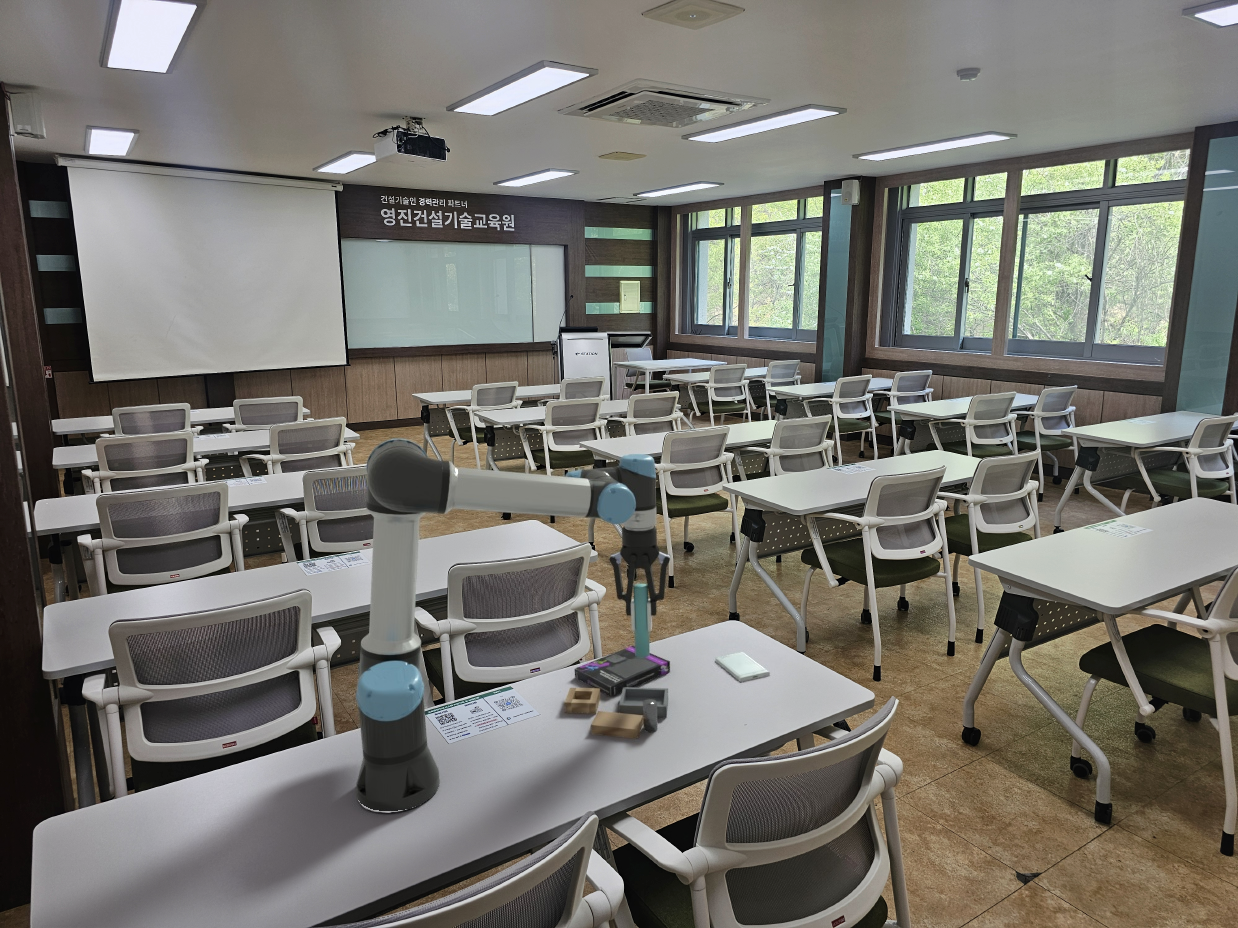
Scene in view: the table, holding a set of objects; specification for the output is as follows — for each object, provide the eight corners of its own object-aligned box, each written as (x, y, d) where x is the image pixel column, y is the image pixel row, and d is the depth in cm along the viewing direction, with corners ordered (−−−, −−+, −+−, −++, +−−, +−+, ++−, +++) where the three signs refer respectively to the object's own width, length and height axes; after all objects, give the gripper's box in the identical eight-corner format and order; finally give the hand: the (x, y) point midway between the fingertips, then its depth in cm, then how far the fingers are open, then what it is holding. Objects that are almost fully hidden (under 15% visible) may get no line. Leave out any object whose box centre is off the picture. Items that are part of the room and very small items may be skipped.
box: (633, 657, 205) (573, 679, 192) (633, 644, 204) (573, 666, 192) (671, 674, 194) (610, 699, 182) (670, 660, 193) (609, 684, 181)
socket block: (565, 712, 175) (564, 702, 175) (570, 697, 182) (570, 687, 182) (596, 713, 175) (595, 703, 174) (600, 698, 181) (599, 688, 181)
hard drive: (715, 657, 199) (740, 677, 188) (743, 651, 202) (769, 670, 191) (715, 663, 199) (740, 683, 188) (743, 657, 202) (769, 676, 191)
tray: (619, 715, 173) (619, 705, 173) (623, 697, 182) (623, 687, 181) (666, 717, 172) (666, 706, 172) (668, 698, 180) (668, 688, 180)
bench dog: (642, 731, 167) (642, 705, 165) (644, 724, 170) (643, 698, 168) (657, 732, 166) (656, 706, 165) (657, 724, 169) (657, 699, 168)
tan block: (591, 735, 166) (590, 724, 166) (598, 721, 172) (598, 710, 172) (637, 740, 164) (637, 729, 164) (643, 725, 170) (642, 715, 169)
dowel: (635, 651, 176) (634, 583, 173) (650, 651, 176) (648, 583, 173) (634, 657, 173) (632, 588, 170) (649, 657, 173) (647, 588, 170)
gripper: (600, 531, 166) (603, 635, 171) (675, 531, 164) (677, 636, 169) (604, 521, 173) (607, 621, 178) (676, 521, 172) (678, 622, 176)
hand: (641, 628), depth 173 cm, fingers closed on dowel, 3 cm apart
